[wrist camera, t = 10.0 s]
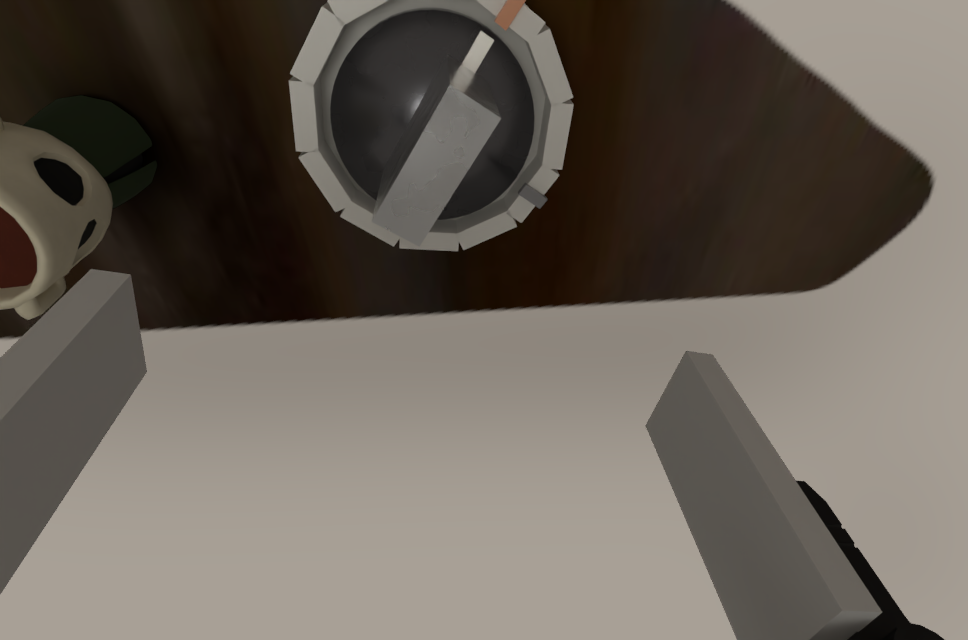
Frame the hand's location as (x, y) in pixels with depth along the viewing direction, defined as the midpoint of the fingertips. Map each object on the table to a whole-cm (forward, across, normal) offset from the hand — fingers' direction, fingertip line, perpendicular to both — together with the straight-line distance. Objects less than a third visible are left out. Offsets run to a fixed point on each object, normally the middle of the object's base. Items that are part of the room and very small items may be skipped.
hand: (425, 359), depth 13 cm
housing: (+25, 0, 0) cm, 25 cm away
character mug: (+25, +19, +6) cm, 32 cm away
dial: (+21, 0, 0) cm, 21 cm away
